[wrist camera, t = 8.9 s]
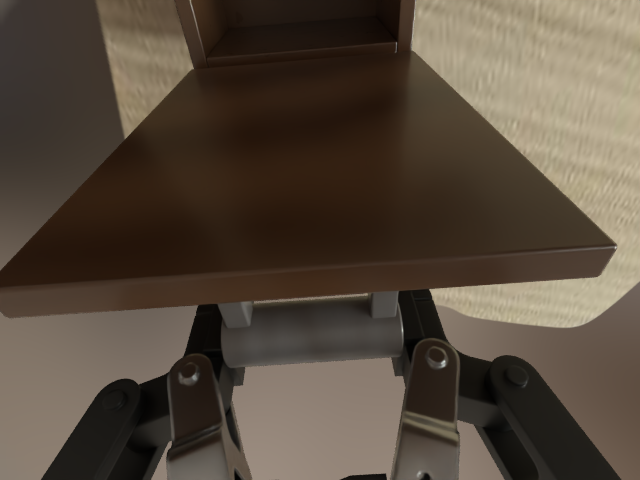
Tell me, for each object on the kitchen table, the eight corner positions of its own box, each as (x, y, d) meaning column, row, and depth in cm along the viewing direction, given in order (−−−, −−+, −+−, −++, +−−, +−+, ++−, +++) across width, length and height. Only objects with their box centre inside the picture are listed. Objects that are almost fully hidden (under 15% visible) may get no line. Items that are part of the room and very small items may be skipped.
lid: (-24, 292, 6) (113, 425, 10) (621, 245, 6) (525, 399, 9) (190, 69, 18) (218, 166, 21) (414, 50, 17) (404, 151, 21)
